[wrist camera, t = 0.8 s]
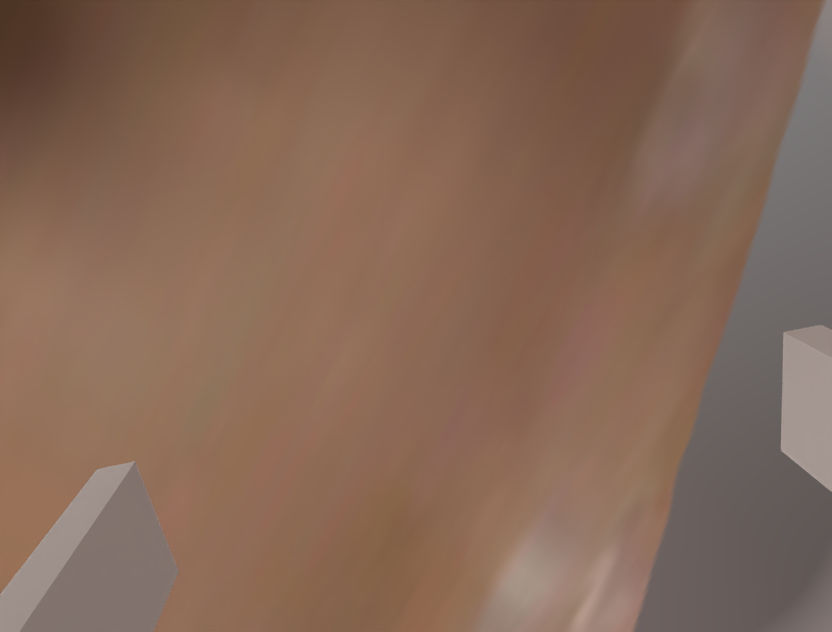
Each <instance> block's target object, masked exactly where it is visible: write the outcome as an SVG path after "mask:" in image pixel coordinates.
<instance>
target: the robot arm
mask: <svg viewBox="0 0 832 632" xmlns="http://www.w3.org/2000/svg"><path fill="white" fill-rule="evenodd" d="M781 424H782V425H781V451H782V452H784V453H785V454H786V455H787V456H789V457H790V458H791V459H792V460H793V461H795V462H796V463H797V464H798V465H799V466H801V467H802V468H803V469H804V470H806V471H807V472H808V473H809V474H810V475H812V476H813V477H814V478H815V479H817V480H818V481H819V482H820V483H822V484H823V485H824V486H825V487H826V488H827V489H829V490H830V491H831V492H832V330H831V329H829V328H827V327H825V326H823V325H817V326H812V327H807V328H803V329H797V330H792V331H787V332H784V333H783V376H782V423H781ZM178 572H179V571H178V568H177V566H176V563H175V561H174V558H173V556H172V553H171V551H170V548H169V546H168V543H167V541H166V538H165V536H164V533H163V531H162V528H161V525H160V523H159V520H158V518H157V515H156V513H155V510H154V508H153V505H152V503H151V500H150V498H149V495H148V493H147V490H146V488H145V485H144V482H143V480H142V477H141V475H140V472H139V470H138V467H137V465H136V462H131V463H125V464H120V465H115V466H110V467H105V468H100V469H97V470H96V471H95V473H94V474H93V475H92V476H91V478H90V479H89V480H88V482H87V483H86V484H85V485H84V487H83V488H82V489H81V491H80V492H79V493H78V494H77V496H76V497H75V498H74V500H73V501H72V502H71V504H70V505H69V506H68V507H67V509H66V510H65V511H64V513H63V514H62V515H61V516H60V518H59V519H58V520H57V522H56V523H55V524H54V525H53V527H52V528H51V529H50V531H49V532H48V533H47V535H46V536H45V537H44V538H43V540H42V541H41V542H40V544H39V545H38V546H37V547H36V549H35V550H34V551H33V553H32V554H31V555H30V556H29V558H28V559H27V560H26V562H25V563H24V564H23V566H22V567H21V568H20V569H19V571H18V572H17V573H16V575H15V576H14V577H13V578H12V580H11V581H10V582H9V584H8V585H7V586H6V587H5V589H4V590H3V591H2V593H1V594H0V632H153V631H154V629H155V626H156V624H157V622H158V619H159V617H160V614H161V612H162V610H163V607H164V605H165V603H166V600H167V598H168V595H169V593H170V591H171V588H172V586H173V584H174V581H175V579H176V577H177V574H178Z"/></svg>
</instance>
